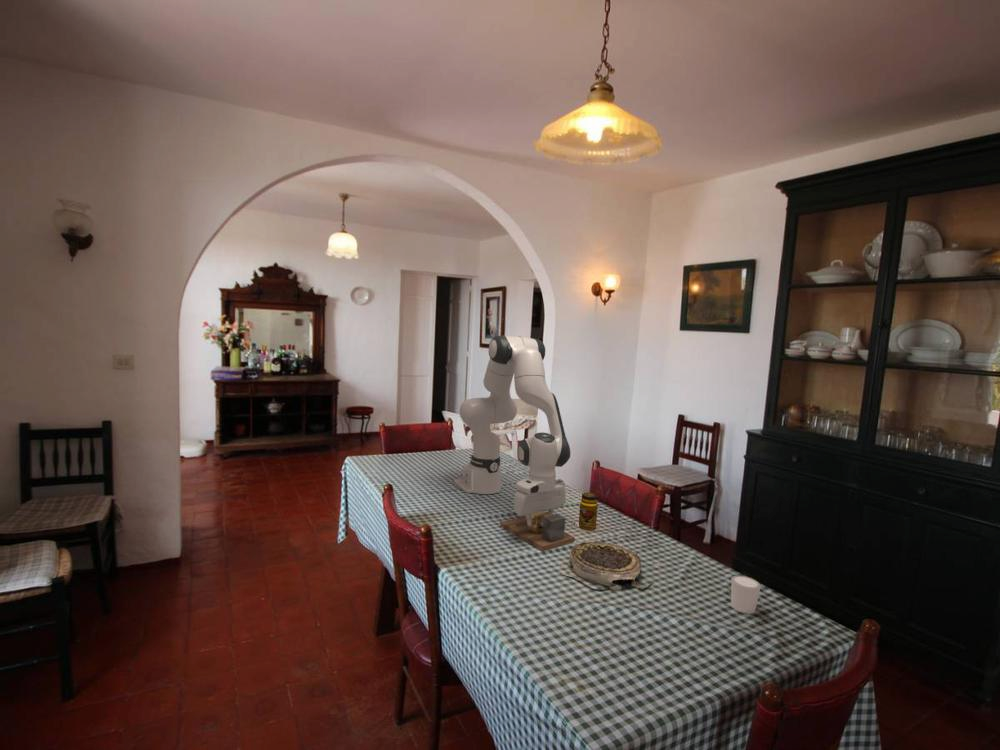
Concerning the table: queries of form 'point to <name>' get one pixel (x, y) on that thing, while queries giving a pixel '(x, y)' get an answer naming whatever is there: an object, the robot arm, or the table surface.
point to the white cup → (744, 594)
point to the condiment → (588, 512)
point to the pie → (604, 563)
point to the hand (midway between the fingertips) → (539, 523)
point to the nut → (538, 521)
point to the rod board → (545, 539)
